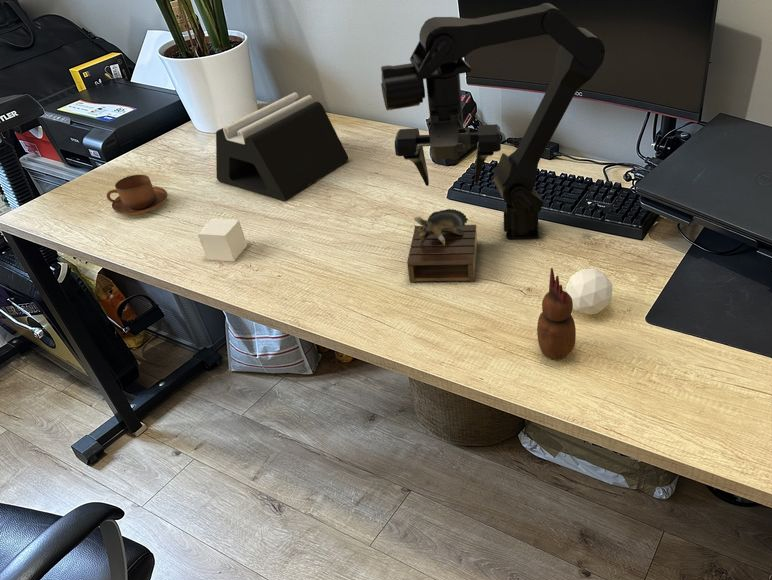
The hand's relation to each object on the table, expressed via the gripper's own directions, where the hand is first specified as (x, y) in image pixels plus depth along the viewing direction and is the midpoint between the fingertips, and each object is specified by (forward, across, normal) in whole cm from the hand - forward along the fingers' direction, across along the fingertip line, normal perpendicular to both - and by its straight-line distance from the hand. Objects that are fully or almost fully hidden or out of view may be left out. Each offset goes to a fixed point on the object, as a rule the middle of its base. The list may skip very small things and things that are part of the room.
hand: (452, 183), depth 122 cm
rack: (+13, -2, -7) cm, 15 cm away
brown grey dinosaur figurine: (+9, -2, -6) cm, 11 cm away
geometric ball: (+13, +24, -22) cm, 35 cm away
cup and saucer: (+13, -74, +20) cm, 77 cm away
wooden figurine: (+13, +17, -33) cm, 40 cm away
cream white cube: (+13, -47, -1) cm, 49 cm away
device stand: (+13, -44, +35) cm, 58 cm away
